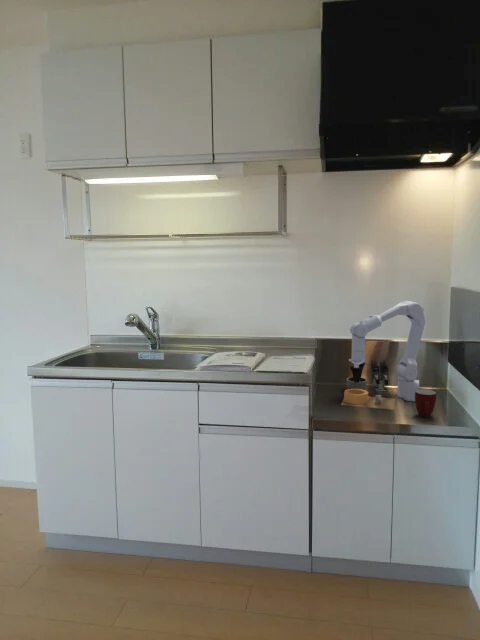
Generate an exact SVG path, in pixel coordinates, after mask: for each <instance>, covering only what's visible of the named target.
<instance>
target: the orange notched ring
mask: <svg viewBox="0 0 480 640" xmlns="http://www.w3.org/2000/svg"><path fill="white" fill-rule="evenodd" d="M343 394H344V395H343V396H344V397H343V399H344V401H346V402H347V403H351V404H365V403H367V402H368V397H369V391H367V390H366V389H365V390H362V389H348V388H346V389H345V390H344V391H343Z"/></svg>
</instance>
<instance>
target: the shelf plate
mask: <svg viewBox="0 0 480 640" xmlns="http://www.w3.org/2000/svg"><path fill="white" fill-rule="evenodd" d="M396 401H397V399H396V398H391V397H390V398H389V397H382V395H381V394H375V396H368V402H367V403H365V404H351V403H347V402H346V401H344V398H343V400H342V402H341V404H340V405H341V406H350V407H359V408H371V409H380V410H381V409H384V410H391V411H393V410H394V411H395V409H396Z"/></svg>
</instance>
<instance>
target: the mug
mask: <svg viewBox="0 0 480 640" xmlns="http://www.w3.org/2000/svg"><path fill="white" fill-rule="evenodd" d="M436 401H437V392H436V391H435V390H431V389H425V388H424V389H423V388H422V389H420V388H419V390H416V391H415V401H414V402H415V408H416V411H417V413H418V416H420V417H421V418H430V417H431V415H432V414H433V412H434V410H435V406H436Z"/></svg>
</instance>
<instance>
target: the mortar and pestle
mask: <svg viewBox="0 0 480 640" xmlns="http://www.w3.org/2000/svg"><path fill="white" fill-rule="evenodd" d="M367 386H368V379H367V378H365V377H361V378H360V381H359V383H356V382H354V379H353V376H349V377H347V378H346V387H347V389H362V390H366V388H367Z"/></svg>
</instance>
